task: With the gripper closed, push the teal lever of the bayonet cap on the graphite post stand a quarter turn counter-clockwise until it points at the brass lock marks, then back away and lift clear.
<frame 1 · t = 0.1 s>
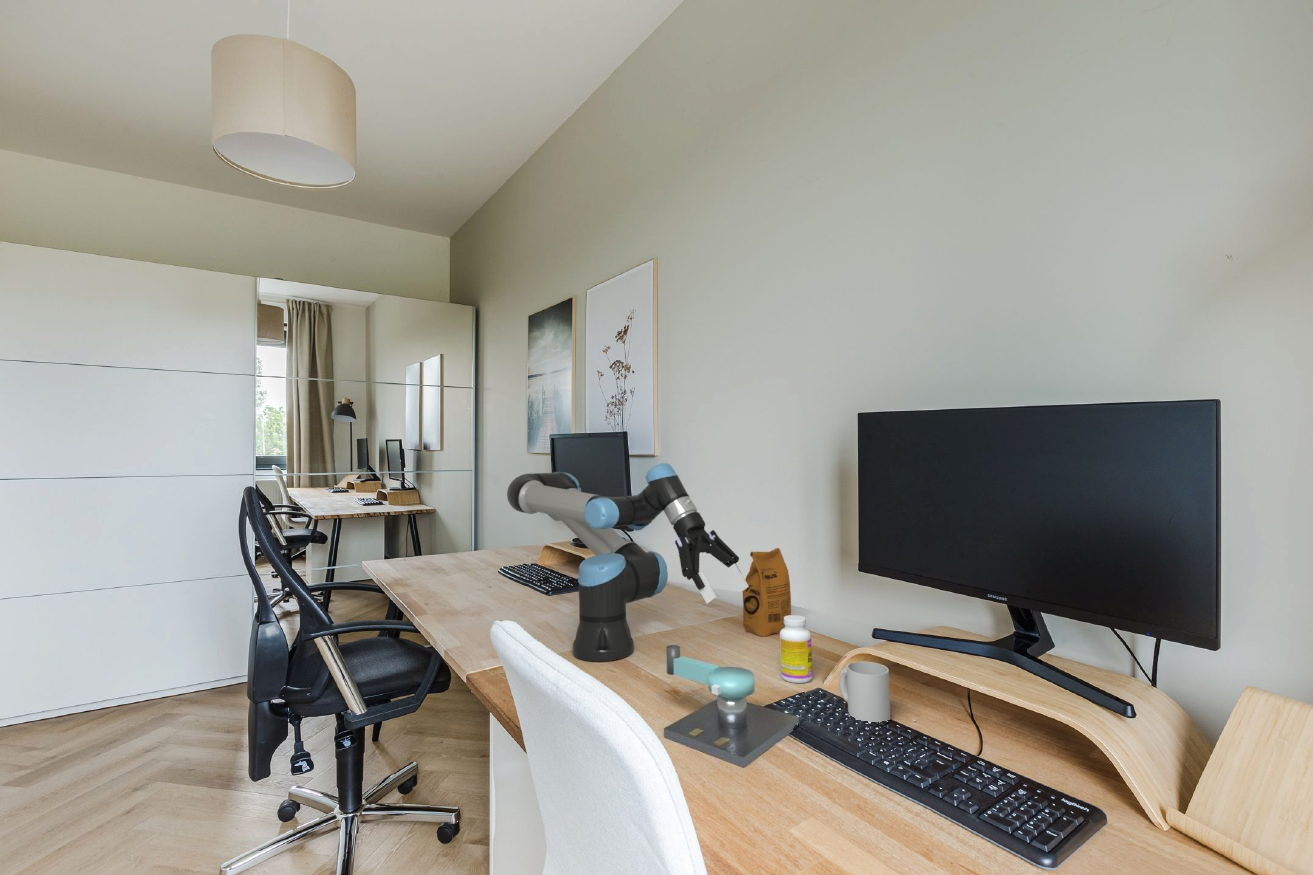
hand: (728, 595, 138), 15 cm above the table, tool tilted 35°, fingers open, 13 cm apart
post base: (732, 731, 102), on the table
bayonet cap: (707, 668, 106), point 10 cm above the table, hinge at 0.0°
coffee package: (767, 631, 161), on the table
cup: (862, 716, 107), on the table
supplement bottle: (796, 679, 126), on the table
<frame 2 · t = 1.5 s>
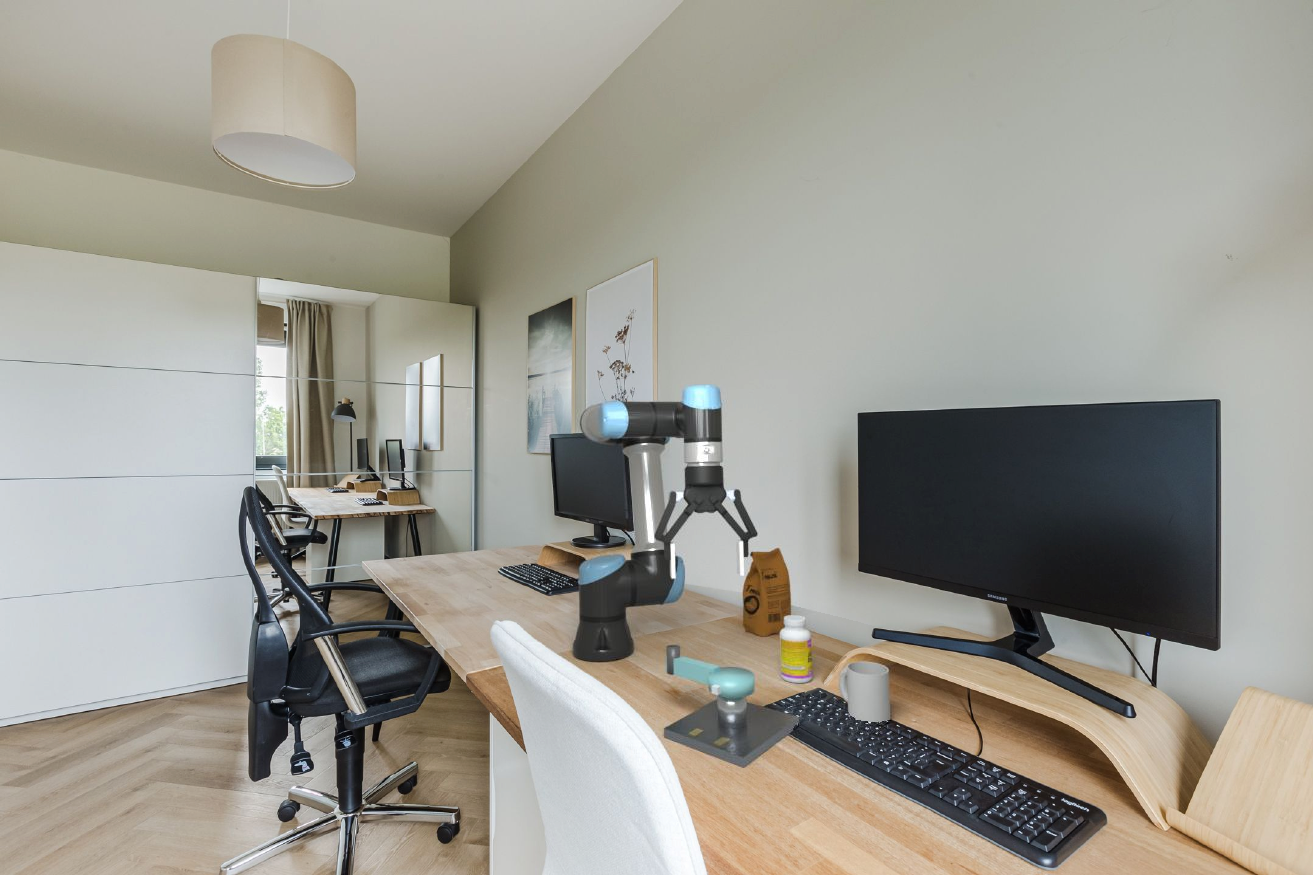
hand: (706, 575, 113), 25 cm above the table, tool pointing down, fingers open, 12 cm apart
nothing on the table moved.
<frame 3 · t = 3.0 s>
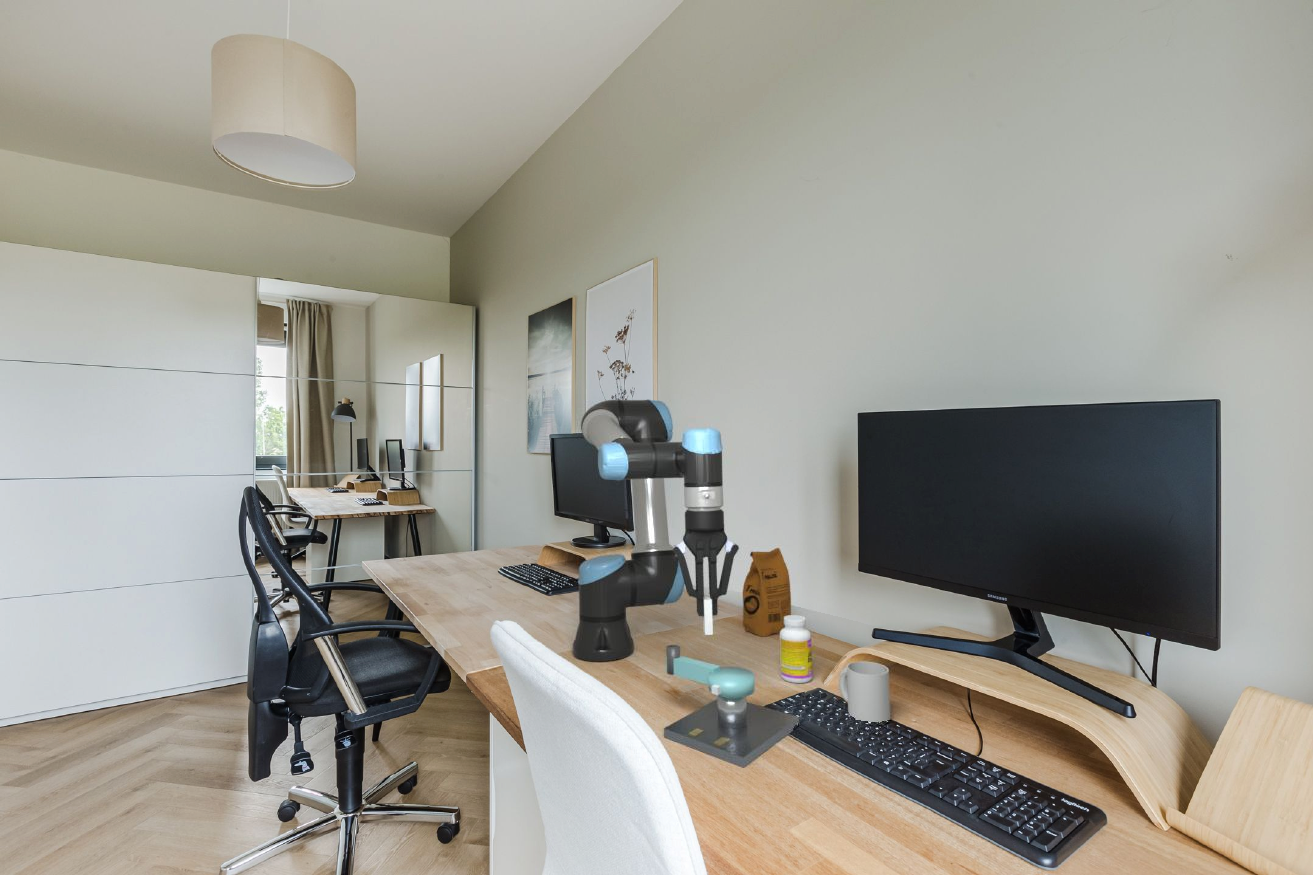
hand: (707, 632, 112), 14 cm above the table, tool pointing down, fingers closed
nothing on the table moved.
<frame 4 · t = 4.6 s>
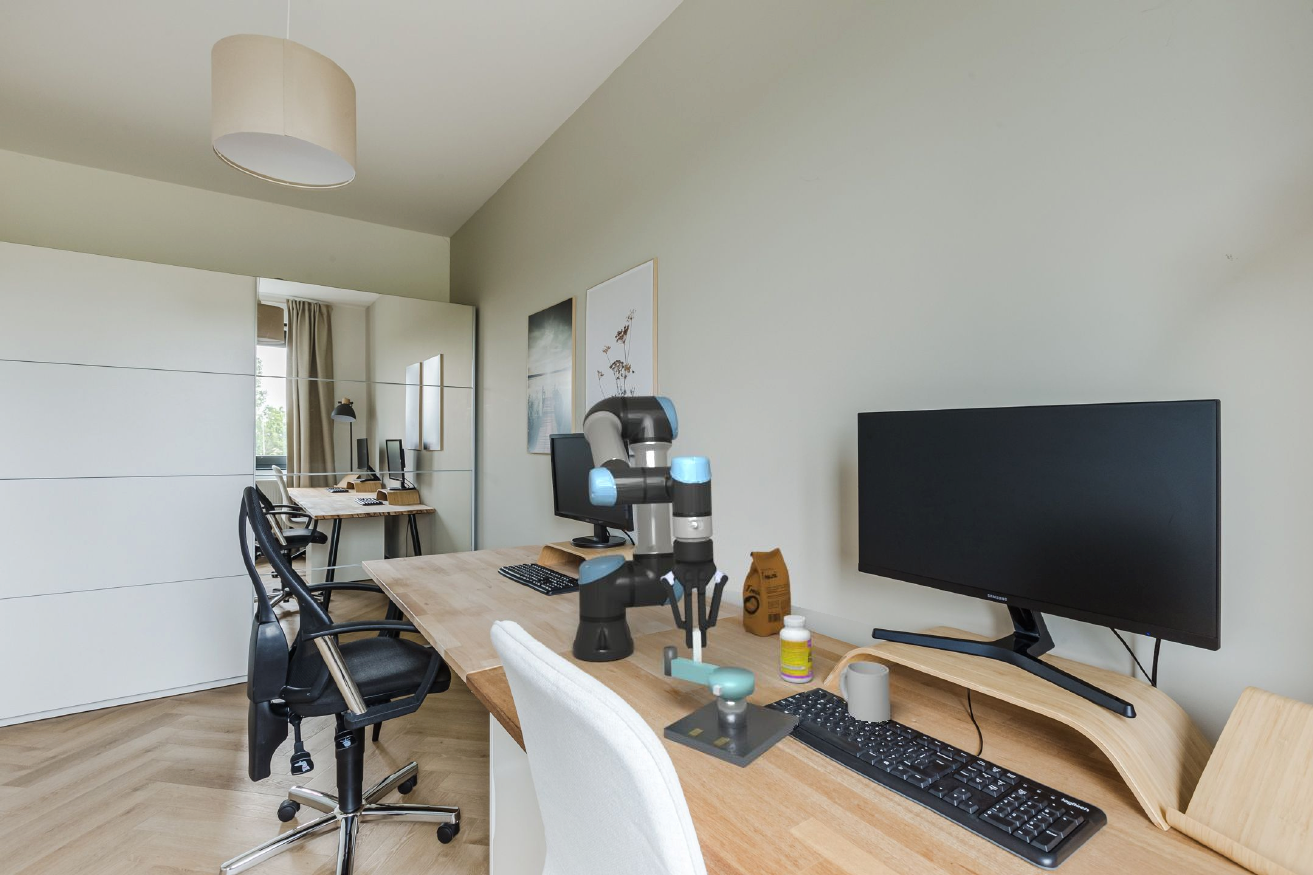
hand: (696, 664, 110), 9 cm above the table, tool pointing down, fingers closed
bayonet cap: (706, 669, 106), point 10 cm above the table, hinge at 3.7°, touching gripper
everything else where it was.
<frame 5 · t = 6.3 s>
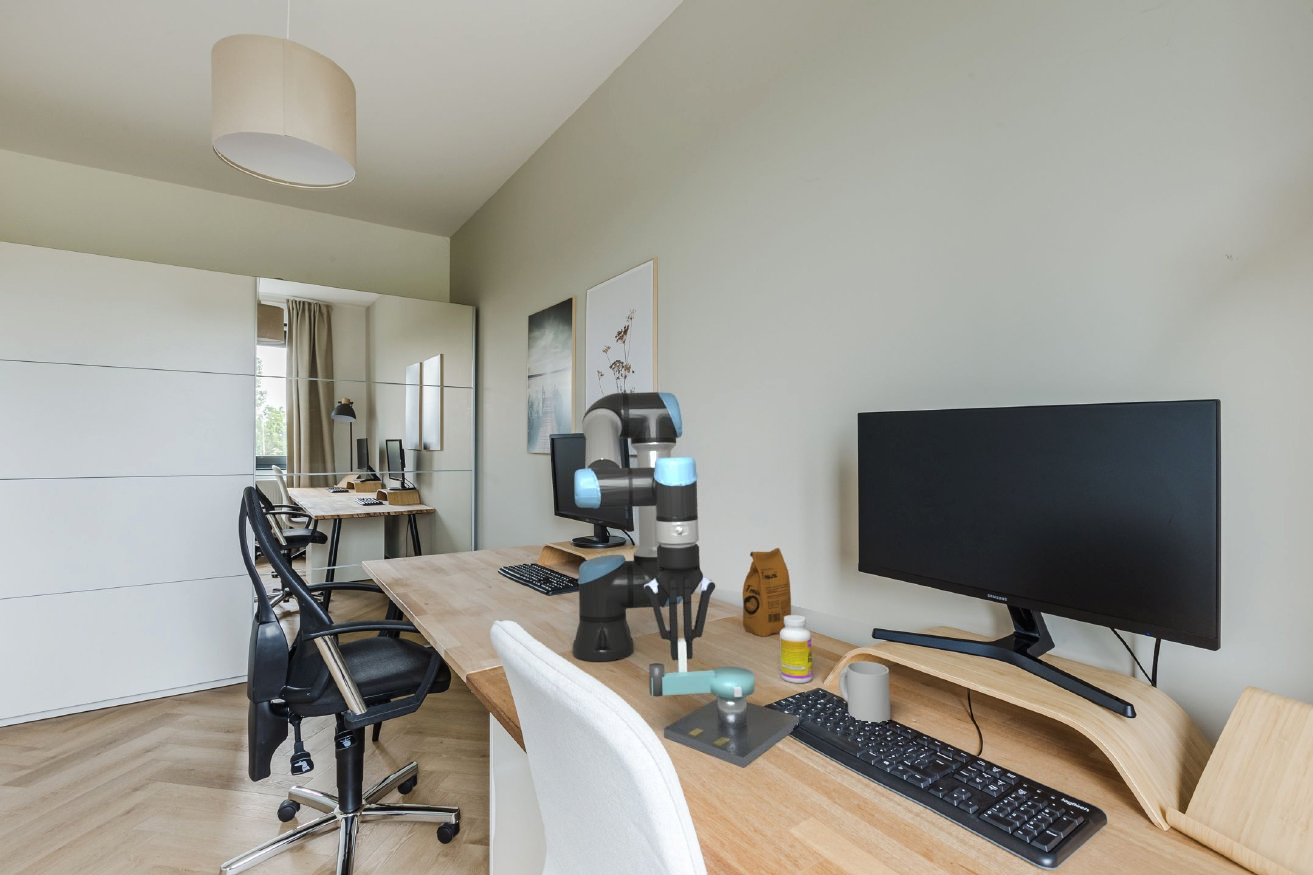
hand: (682, 677, 104), 9 cm above the table, tool pointing down, fingers closed
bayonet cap: (701, 676, 102), point 10 cm above the table, hinge at 46.9°, touching gripper
everything else where it was.
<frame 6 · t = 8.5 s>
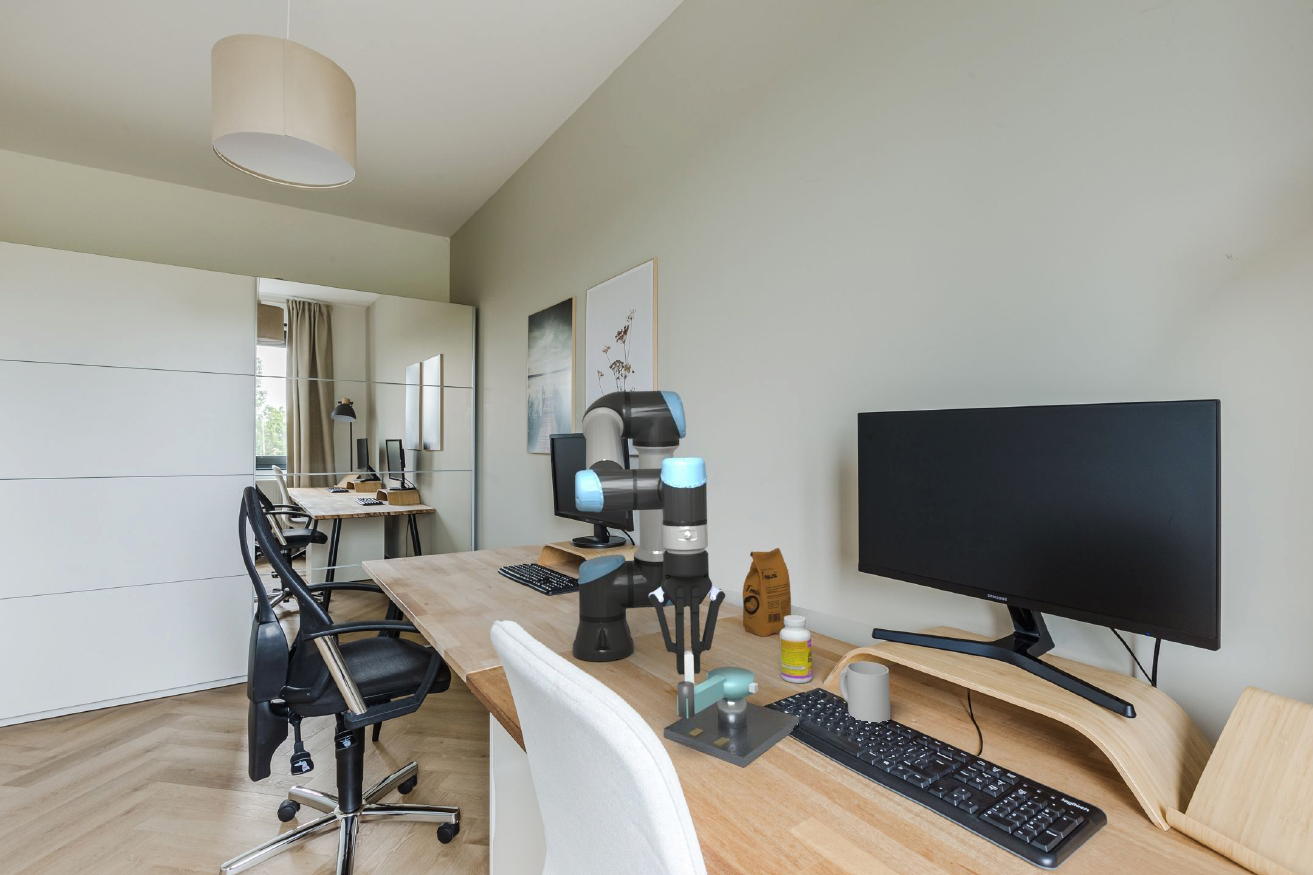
hand: (688, 692, 97), 9 cm above the table, tool pointing down, fingers closed
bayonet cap: (714, 684, 98), point 10 cm above the table, hinge at 91.1°, touching gripper
everything else where it was.
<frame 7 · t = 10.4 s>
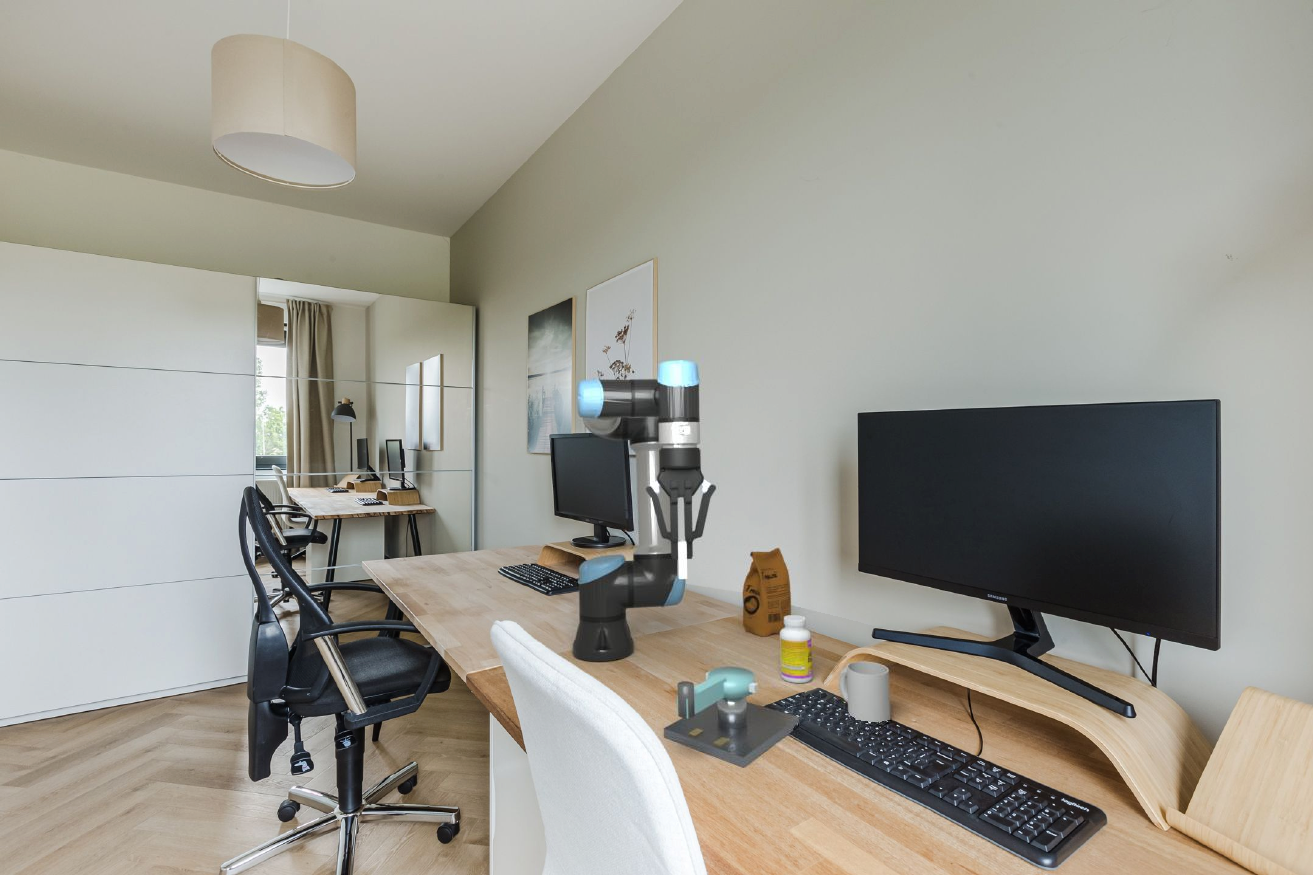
hand: (682, 577, 106), 26 cm above the table, tool pointing down, fingers closed
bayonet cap: (714, 684, 98), point 10 cm above the table, hinge at 91.1°
everything else where it was.
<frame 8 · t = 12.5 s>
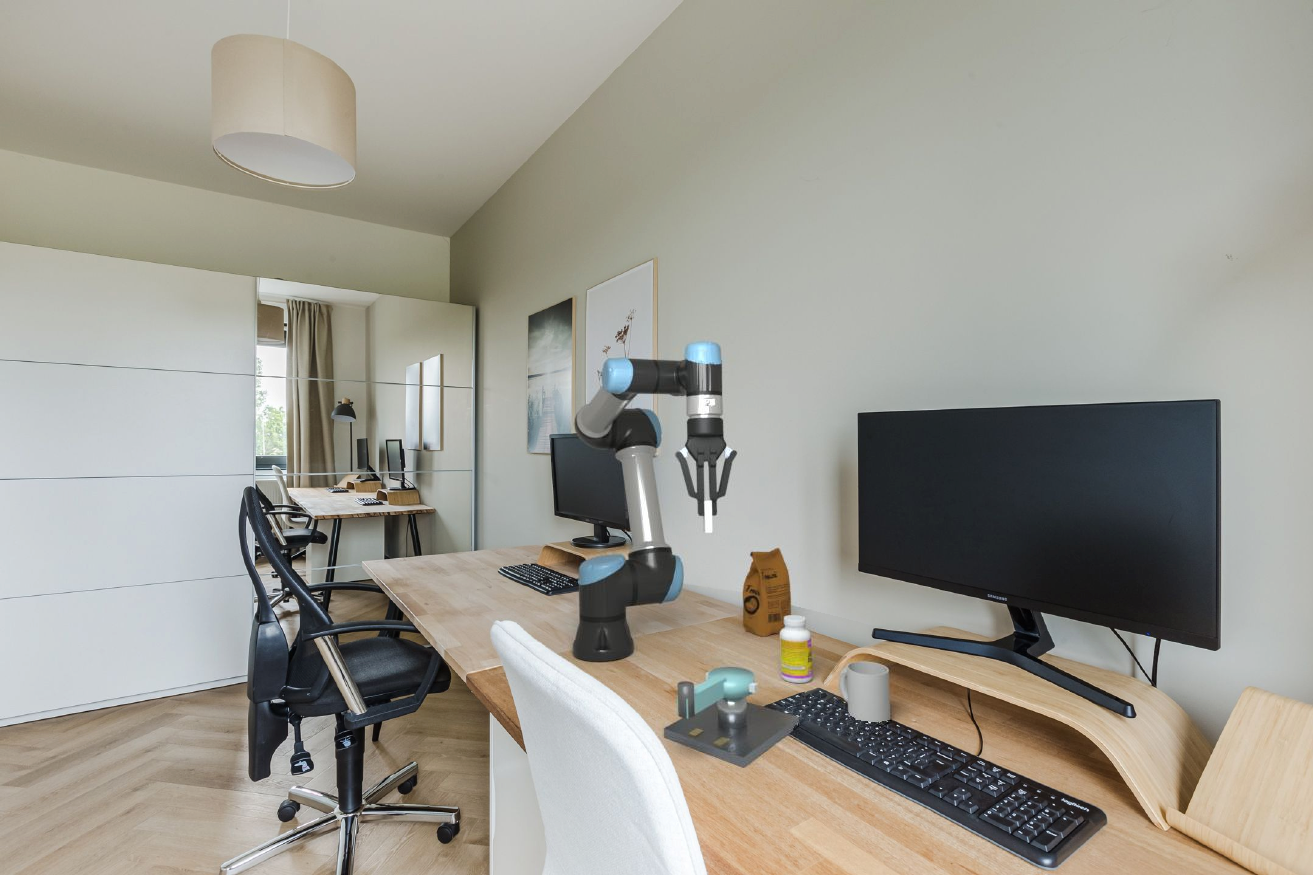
hand: (707, 531, 121), 32 cm above the table, tool pointing down, fingers closed
nothing on the table moved.
at the end: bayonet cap at +91° (first picture: +0°); the gripper is holding nothing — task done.
